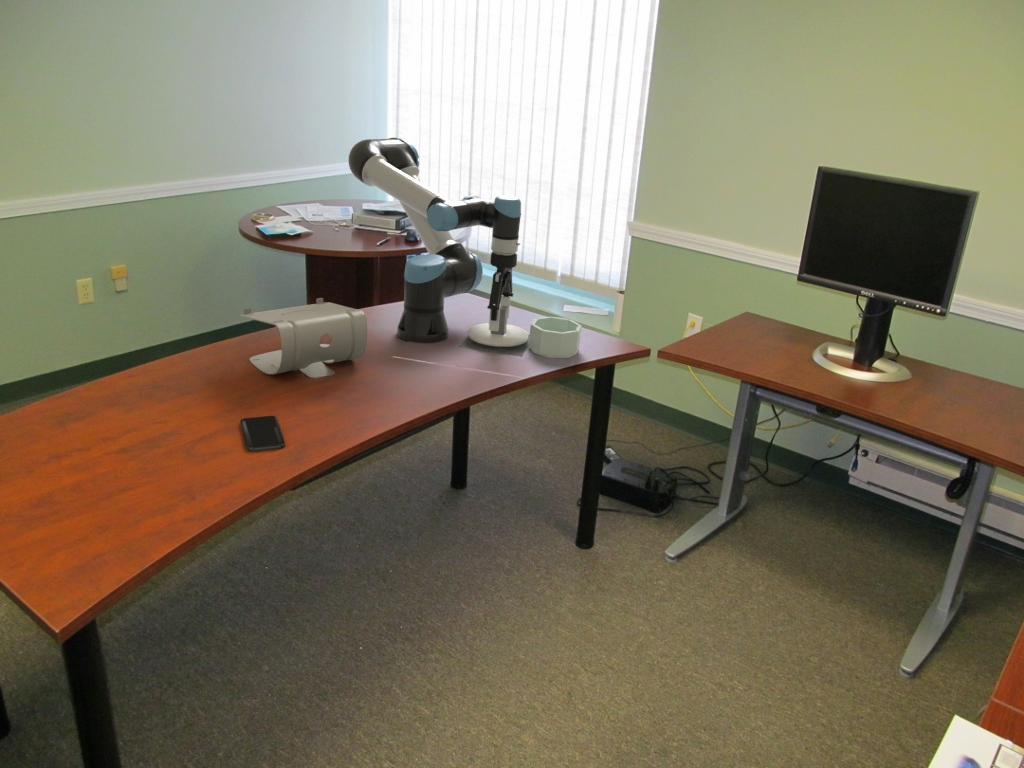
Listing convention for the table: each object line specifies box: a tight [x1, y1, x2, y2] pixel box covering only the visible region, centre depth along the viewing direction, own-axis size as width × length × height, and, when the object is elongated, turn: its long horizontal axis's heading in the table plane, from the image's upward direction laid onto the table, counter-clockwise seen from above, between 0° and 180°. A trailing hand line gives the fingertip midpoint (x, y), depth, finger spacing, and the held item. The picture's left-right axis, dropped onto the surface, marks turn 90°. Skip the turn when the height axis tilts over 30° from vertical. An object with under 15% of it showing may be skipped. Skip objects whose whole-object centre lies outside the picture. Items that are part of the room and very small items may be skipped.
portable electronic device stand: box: [239, 297, 368, 379], centre depth 214 cm, size 26×24×16 cm
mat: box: [457, 334, 530, 357], centre depth 243 cm, size 19×19×1 cm
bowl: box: [528, 316, 582, 359], centre depth 239 cm, size 14×14×8 cm
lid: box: [467, 305, 530, 347], centre depth 241 cm, size 18×18×10 cm
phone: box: [240, 415, 286, 453], centre depth 178 cm, size 8×1×15 cm
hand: (498, 323), depth 241 cm, fingers open, 12 cm apart
